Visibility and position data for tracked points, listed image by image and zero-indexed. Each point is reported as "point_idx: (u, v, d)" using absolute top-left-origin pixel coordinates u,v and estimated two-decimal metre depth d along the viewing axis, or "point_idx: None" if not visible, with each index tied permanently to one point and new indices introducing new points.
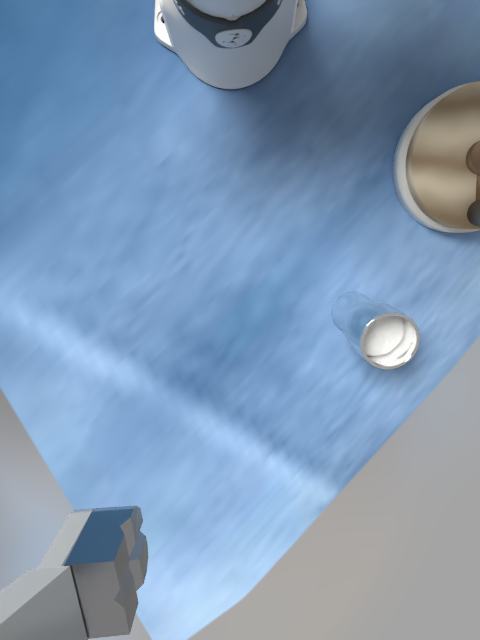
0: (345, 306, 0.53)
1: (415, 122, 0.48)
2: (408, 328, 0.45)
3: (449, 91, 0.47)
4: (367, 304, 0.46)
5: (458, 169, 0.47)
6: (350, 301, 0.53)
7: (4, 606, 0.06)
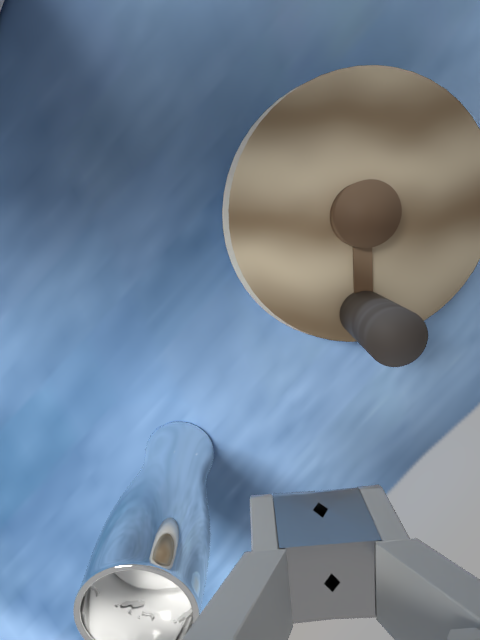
0: (145, 462, 0.30)
1: (241, 146, 0.26)
2: None
3: None
4: (132, 501, 0.24)
5: (316, 236, 0.25)
6: (154, 452, 0.30)
7: (245, 588, 0.06)
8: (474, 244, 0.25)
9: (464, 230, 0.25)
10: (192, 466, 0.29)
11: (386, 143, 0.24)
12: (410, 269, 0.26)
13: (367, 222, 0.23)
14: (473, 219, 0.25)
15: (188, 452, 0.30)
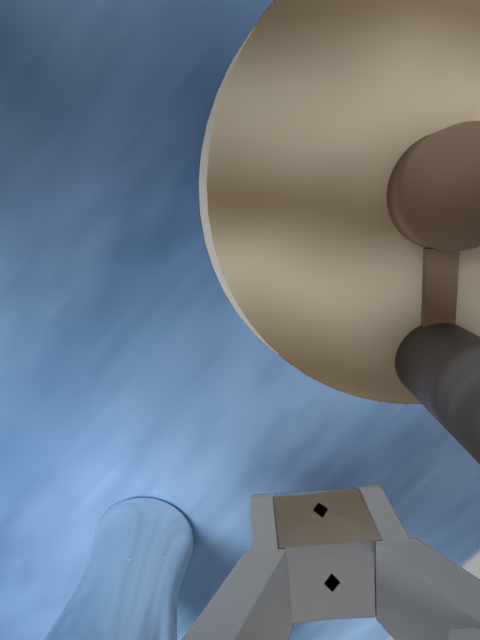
0: (84, 574, 0.20)
1: None
2: None
3: None
4: None
5: (362, 229, 0.14)
6: (100, 558, 0.20)
7: (245, 587, 0.06)
8: None
9: None
10: (154, 588, 0.19)
11: None
12: None
13: (462, 204, 0.13)
14: None
15: (151, 557, 0.20)
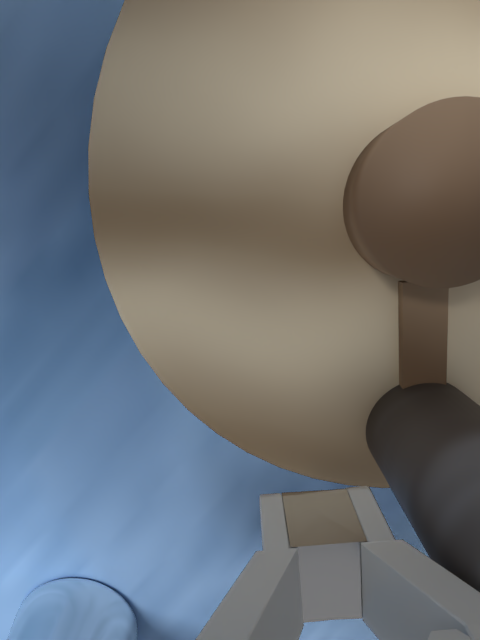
0: None
1: None
2: None
3: None
4: None
5: (311, 255, 0.10)
6: None
7: (258, 586, 0.06)
8: None
9: None
10: None
11: None
12: None
13: (448, 220, 0.09)
14: None
15: None
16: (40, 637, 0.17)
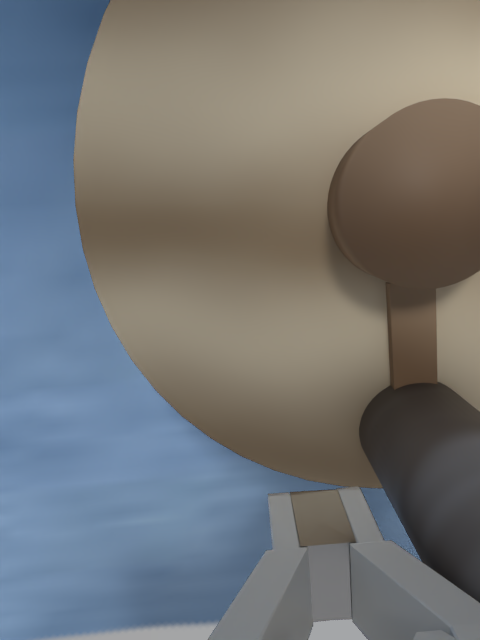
0: None
1: None
2: None
3: None
4: None
5: (298, 260, 0.10)
6: None
7: (269, 586, 0.06)
8: None
9: None
10: None
11: (470, 9, 0.09)
12: None
13: (430, 222, 0.09)
14: None
15: None
16: None
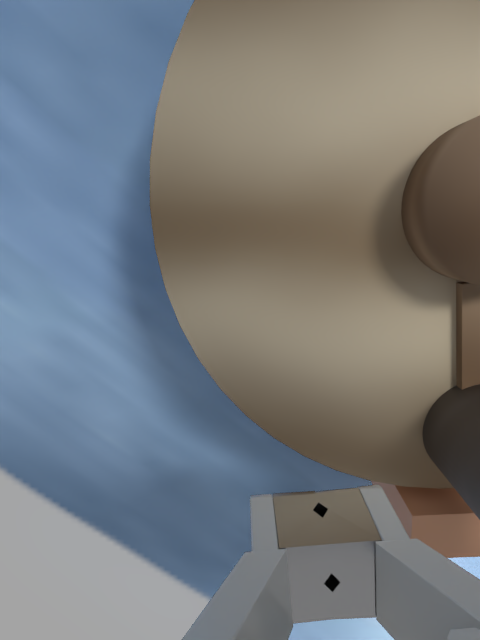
0: None
1: None
2: None
3: None
4: None
5: (369, 260, 0.10)
6: None
7: (245, 587, 0.06)
8: None
9: None
10: None
11: None
12: None
13: None
14: None
15: None
16: None
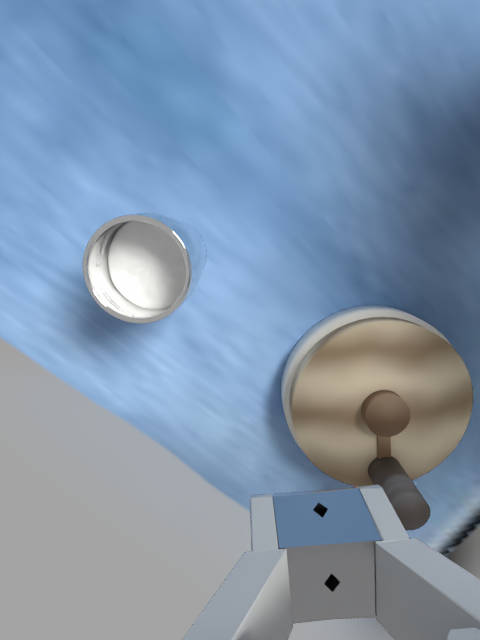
0: None
1: (431, 327, 0.37)
2: (158, 312, 0.27)
3: None
4: (198, 248, 0.27)
5: (352, 423, 0.37)
6: None
7: (245, 588, 0.06)
8: (459, 425, 0.37)
9: (452, 417, 0.37)
10: None
11: (398, 367, 0.35)
12: (416, 441, 0.37)
13: (387, 422, 0.35)
14: (458, 410, 0.36)
15: None
16: (200, 253, 0.35)
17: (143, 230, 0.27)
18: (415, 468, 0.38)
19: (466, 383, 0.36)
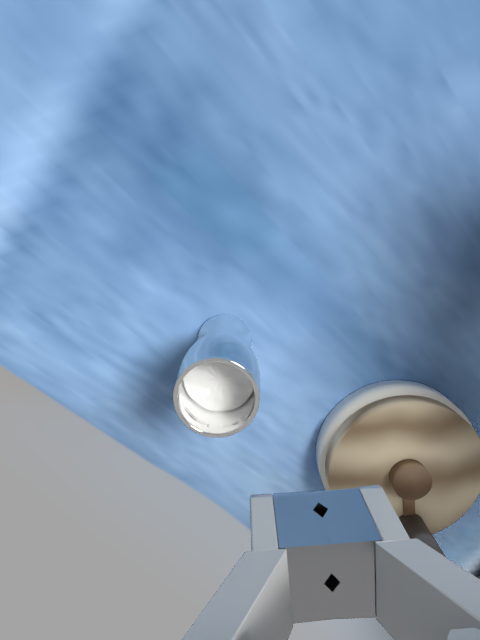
0: (239, 332, 0.39)
1: (448, 402, 0.42)
2: (225, 418, 0.33)
3: None
4: (257, 363, 0.33)
5: (381, 486, 0.42)
6: (245, 338, 0.40)
7: (246, 587, 0.06)
8: (475, 487, 0.42)
9: (469, 480, 0.42)
10: None
11: (421, 440, 0.41)
12: (437, 501, 0.43)
13: (412, 488, 0.41)
14: (474, 475, 0.42)
15: None
16: (248, 345, 0.41)
17: None
18: (436, 523, 0.43)
19: None
